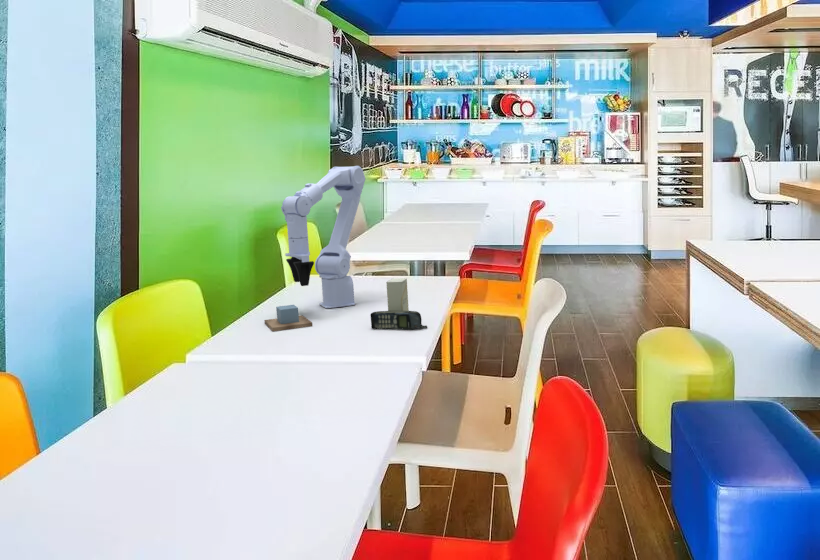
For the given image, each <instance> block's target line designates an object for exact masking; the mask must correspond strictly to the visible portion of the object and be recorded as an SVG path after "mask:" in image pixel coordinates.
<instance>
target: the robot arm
mask: <svg viewBox="0 0 820 560" xmlns="http://www.w3.org/2000/svg"><path fill="white" fill-rule="evenodd" d="M365 182H366V177H365V172H364V170H363V169H362V167H361V166H360V165H354V166H333V167H332V168H330V169H329V170H328V171H327V174H326V175H324V176H322V178H321V179H320V180H319V181H318V182H317V181H316V183H313V182H312V183H311V182H309V183H305V184H304V187H303V188H301V189H300V190H297V191H296V192H295V193H294V194H293V195H289V196H286V197H285V198H284V200H283V201H282V203H281V204H282V205H281V212H282V214H283V215H284V220H285V222H286V228H287V240H288V241H287V242H288V253H285V254H284V256H285V257H290V258H287V259H286V262H287V263H288V266H289V268H290V271H291V275H292V278H293V281H294V282H295V283H300V284H299V285H300V286H301V287H306V286H309V284H310V279H311V273H312V272H311V271H312V269H313V267H314V270H315V272H316V273H317V275H319V278H321V291H322V302H318V304H319V305H320V306H321V307H323V308H324V309H333V308H334V309H335V308H340V307H341V308H342V307H349V306H355V305H356V303H355V291H354V290H355V287H354V281H353V277H352V276H350V275H348V274H349V272H350V269H351V264H350V263H351V258H352V256H351V254H350V252H348V250H347V246H348V243H349V239H350V236H351V233H352V232H351V231H352V229H353V225H354V223H355V222H354V221H355V218H356V215H357V211H358V207H359V205H360V202H361V195H362V193H363V190H364V186H365ZM332 188H334V190H335V192H336V193H337V195H338V196H340V197H341V203H340V206H339V209H338V213H337V215H336V218H335V223H334V227H333V230H332V231H331V232H332V233H331V235H330V239H329V242H328V245H326V246H325V247H323V248H322V249H321V250H320V253H319V255H317V257H316V259H315V262H314V261H313V260H311V261H310V255H311V252H310V249H309V248H310V246H309V245H310V244H309V233H308V217H307V216H308V215H309V214H310V212H311V208H313V206H314V205H316V204H317V203H318V202H319V201H321V200H322V199H323V195H324V193H326V192H327V191H329V190H330V189H332Z"/></svg>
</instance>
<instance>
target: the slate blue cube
mask: <svg viewBox="0 0 820 560" xmlns="http://www.w3.org/2000/svg"><path fill="white" fill-rule="evenodd" d="M299 314H300V313H299V306H296V305H295V304H288V305H282V306H281V305H279V306H276V318H277V321H278V322H279V323H281V324H287V323H294V322H299V316H300V315H299Z"/></svg>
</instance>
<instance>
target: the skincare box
mask: <svg viewBox="0 0 820 560" xmlns="http://www.w3.org/2000/svg"><path fill="white" fill-rule="evenodd" d="M407 279H408V278H407V277H406V278H405V277H404V278H403V277H402V278H401V277H400V278H398V277H397V278H394V277H393V278H391V279H389V280H387V281H386V294H387V296H386V297H387V311H410V308H409V297H408V292H409V291H408V280H407Z"/></svg>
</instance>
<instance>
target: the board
mask: <svg viewBox="0 0 820 560" xmlns="http://www.w3.org/2000/svg"><path fill="white" fill-rule="evenodd" d="M264 324H265V325H266V327H268V328H269V329H270V330H271V331H272V332H280V331H286V330H293V329H302V328H309V327H313V322H312V321H311V320H309V319H308V318H307V317H305V316H304V315H302V314H301V315H299V322H294V323H287V324H281V323H279V322H278V321H277V317H275V318H270V319H264Z"/></svg>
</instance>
